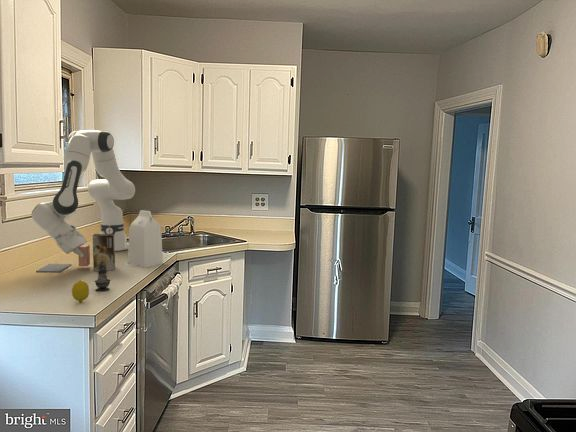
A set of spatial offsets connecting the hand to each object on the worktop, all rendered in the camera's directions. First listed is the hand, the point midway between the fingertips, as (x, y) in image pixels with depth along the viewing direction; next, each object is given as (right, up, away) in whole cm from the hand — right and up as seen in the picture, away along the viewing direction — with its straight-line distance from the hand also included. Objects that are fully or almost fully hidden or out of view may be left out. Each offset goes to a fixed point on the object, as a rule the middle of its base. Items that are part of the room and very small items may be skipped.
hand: (85, 254), depth 210 cm
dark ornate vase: (+21, -11, -32) cm, 40 cm away
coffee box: (+8, -7, +1) cm, 11 cm away
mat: (-14, -6, -1) cm, 15 cm away
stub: (-1, -5, +1) cm, 5 cm away
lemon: (+19, -13, -48) cm, 54 cm away
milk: (+23, -6, +15) cm, 28 cm away
